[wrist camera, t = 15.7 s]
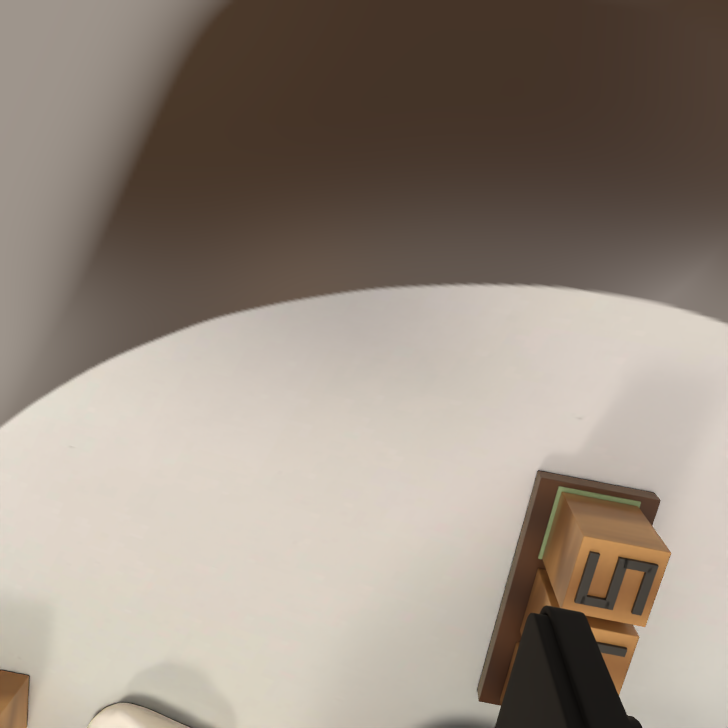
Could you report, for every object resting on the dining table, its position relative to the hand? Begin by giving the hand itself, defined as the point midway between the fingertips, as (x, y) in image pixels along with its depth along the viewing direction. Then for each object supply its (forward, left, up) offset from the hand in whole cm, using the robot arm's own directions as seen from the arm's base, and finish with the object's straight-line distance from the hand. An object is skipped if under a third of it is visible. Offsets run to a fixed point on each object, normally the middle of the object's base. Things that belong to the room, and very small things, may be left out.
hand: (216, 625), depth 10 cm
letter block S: (+11, +16, -27) cm, 33 cm away
